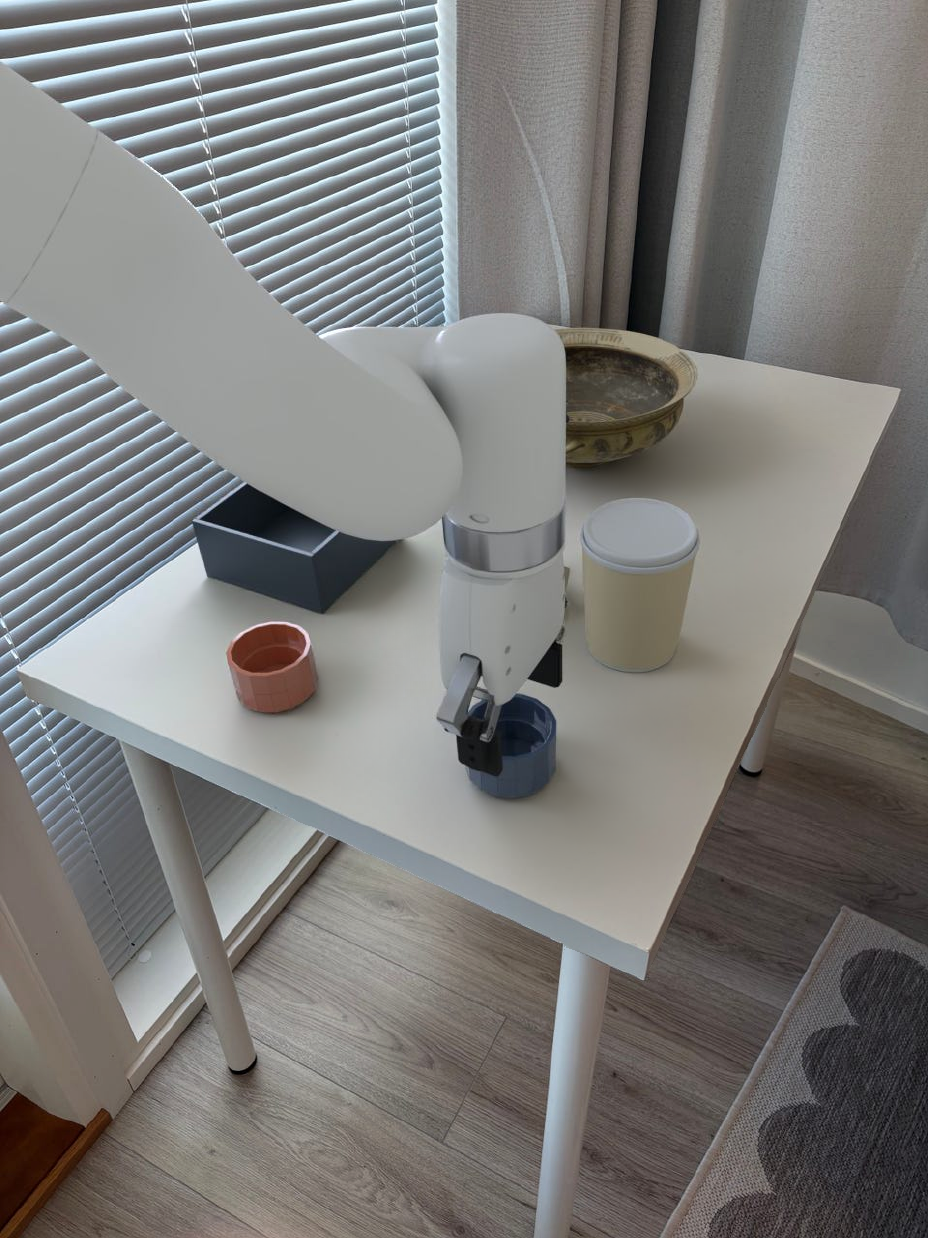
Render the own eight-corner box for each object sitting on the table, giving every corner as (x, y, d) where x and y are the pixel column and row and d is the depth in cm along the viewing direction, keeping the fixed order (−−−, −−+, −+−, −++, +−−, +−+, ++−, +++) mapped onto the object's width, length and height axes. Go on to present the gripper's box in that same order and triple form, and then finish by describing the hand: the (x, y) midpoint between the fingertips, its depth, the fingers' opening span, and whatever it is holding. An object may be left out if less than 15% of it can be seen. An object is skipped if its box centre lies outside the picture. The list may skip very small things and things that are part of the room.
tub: (322, 614, 88) (311, 556, 83) (206, 576, 93) (191, 520, 89) (402, 536, 97) (396, 481, 93) (292, 506, 103) (282, 453, 98)
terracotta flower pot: (242, 725, 77) (231, 684, 74) (233, 672, 82) (222, 632, 79) (325, 705, 78) (317, 664, 75) (311, 654, 83) (303, 614, 80)
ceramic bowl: (653, 538, 94) (661, 449, 88) (433, 499, 102) (426, 415, 96) (712, 406, 115) (722, 326, 109) (527, 382, 123) (526, 306, 117)
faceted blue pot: (481, 812, 68) (478, 770, 66) (454, 747, 74) (451, 705, 71) (569, 788, 70) (570, 746, 67) (537, 726, 75) (536, 684, 72)
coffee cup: (705, 633, 83) (721, 516, 75) (654, 695, 77) (666, 575, 69) (611, 597, 87) (617, 484, 80) (556, 653, 82) (557, 537, 74)
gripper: (512, 448, 65) (519, 638, 76) (375, 587, 54) (406, 787, 65) (615, 469, 62) (607, 664, 73) (492, 622, 51) (504, 826, 62)
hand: (512, 722), depth 69 cm, fingers open, 9 cm apart
